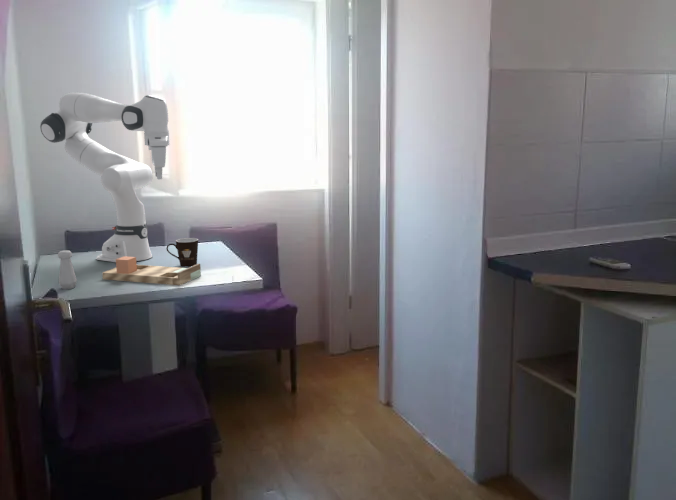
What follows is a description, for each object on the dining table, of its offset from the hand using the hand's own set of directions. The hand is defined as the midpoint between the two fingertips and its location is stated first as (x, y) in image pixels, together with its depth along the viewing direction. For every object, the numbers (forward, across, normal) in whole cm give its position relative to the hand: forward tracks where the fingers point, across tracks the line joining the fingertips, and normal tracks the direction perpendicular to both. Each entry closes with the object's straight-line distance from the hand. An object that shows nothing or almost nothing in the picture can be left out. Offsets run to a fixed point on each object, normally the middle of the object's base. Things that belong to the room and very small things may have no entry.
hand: (158, 178), depth 238 cm
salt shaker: (+36, +18, -33) cm, 51 cm away
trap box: (+35, +13, -5) cm, 38 cm away
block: (+32, +11, -13) cm, 37 cm away
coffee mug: (+35, -3, +8) cm, 36 cm away
